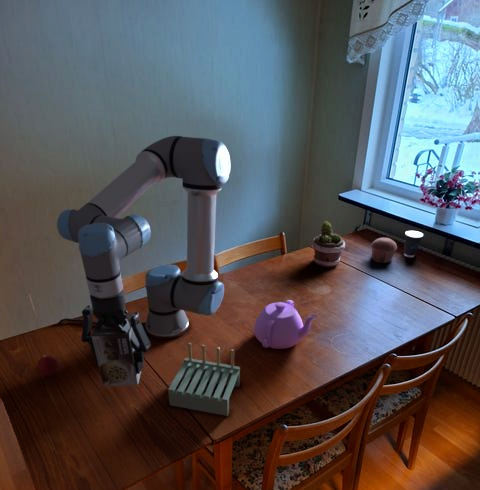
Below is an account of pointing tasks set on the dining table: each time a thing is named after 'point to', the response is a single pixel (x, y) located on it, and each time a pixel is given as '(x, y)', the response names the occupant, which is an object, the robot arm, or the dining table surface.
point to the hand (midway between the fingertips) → (120, 367)
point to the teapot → (281, 325)
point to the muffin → (383, 250)
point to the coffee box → (115, 356)
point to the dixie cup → (412, 243)
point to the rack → (204, 384)
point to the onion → (47, 365)
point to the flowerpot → (327, 247)
